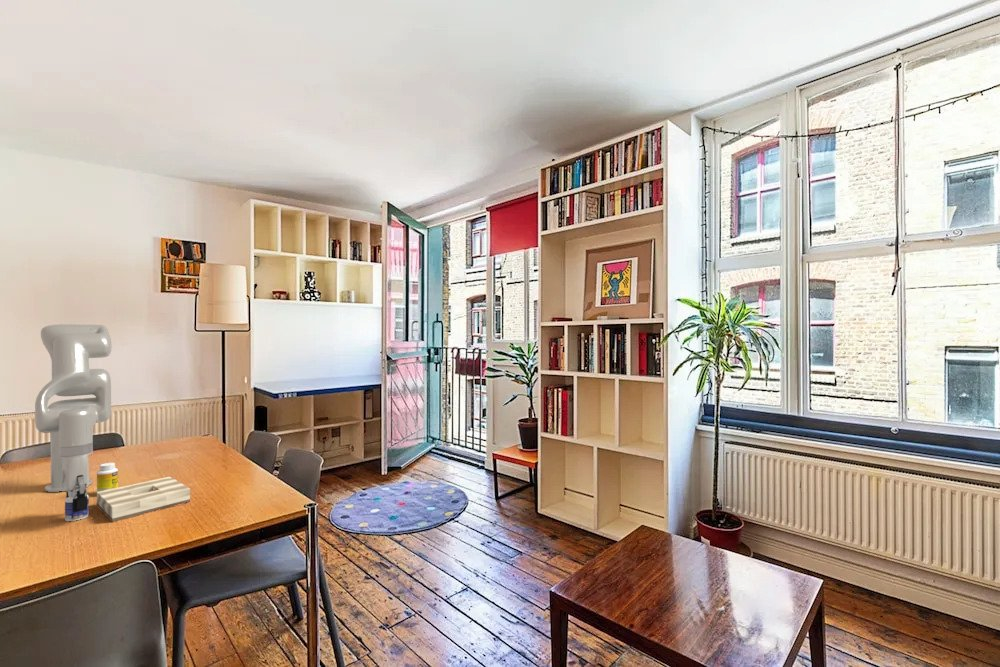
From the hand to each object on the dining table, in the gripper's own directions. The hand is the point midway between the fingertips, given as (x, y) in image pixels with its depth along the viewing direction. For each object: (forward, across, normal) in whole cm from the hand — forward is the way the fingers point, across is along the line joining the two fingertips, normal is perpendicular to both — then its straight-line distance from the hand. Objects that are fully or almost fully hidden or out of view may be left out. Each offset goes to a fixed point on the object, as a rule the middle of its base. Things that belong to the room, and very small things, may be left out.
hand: (76, 506), depth 139 cm
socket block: (+3, +2, +16) cm, 16 cm away
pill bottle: (+4, 0, 0) cm, 4 cm away
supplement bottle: (+4, -20, +11) cm, 23 cm away
